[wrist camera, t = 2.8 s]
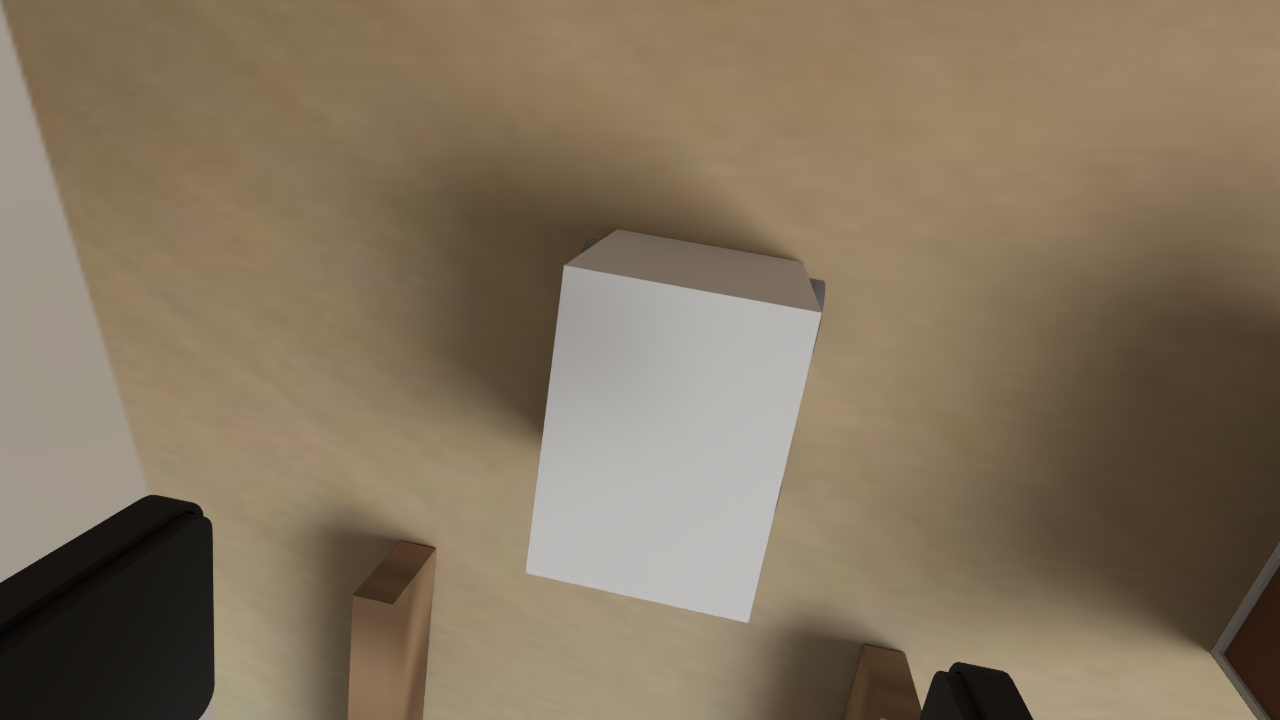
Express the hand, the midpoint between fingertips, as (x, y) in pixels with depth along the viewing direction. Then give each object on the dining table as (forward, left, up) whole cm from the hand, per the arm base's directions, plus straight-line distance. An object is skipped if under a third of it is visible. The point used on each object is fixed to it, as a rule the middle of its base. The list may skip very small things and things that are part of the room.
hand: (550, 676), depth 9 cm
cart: (0, +1, -12) cm, 12 cm away
